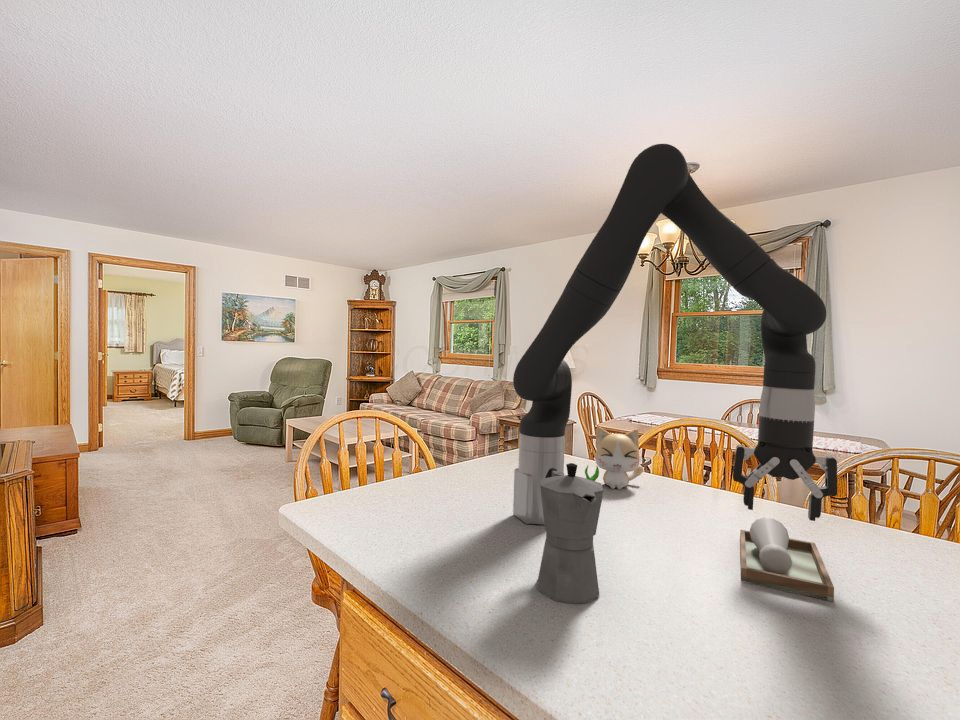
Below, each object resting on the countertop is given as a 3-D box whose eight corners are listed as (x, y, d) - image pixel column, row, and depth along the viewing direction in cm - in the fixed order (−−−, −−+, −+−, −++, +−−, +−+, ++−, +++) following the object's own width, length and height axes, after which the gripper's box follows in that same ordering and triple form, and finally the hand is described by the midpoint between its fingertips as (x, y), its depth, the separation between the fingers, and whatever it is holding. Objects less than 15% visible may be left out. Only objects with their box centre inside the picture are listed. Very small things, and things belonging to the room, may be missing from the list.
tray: (833, 601, 66) (834, 587, 66) (740, 580, 72) (741, 567, 72) (814, 554, 82) (814, 542, 82) (739, 540, 88) (740, 529, 88)
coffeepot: (621, 609, 63) (625, 474, 62) (554, 616, 60) (559, 476, 60) (572, 559, 78) (576, 450, 77) (517, 563, 76) (521, 451, 75)
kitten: (583, 488, 119) (585, 429, 118) (584, 478, 128) (586, 423, 128) (646, 494, 115) (648, 433, 115) (642, 483, 125) (644, 427, 125)
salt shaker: (777, 508, 83) (788, 540, 71) (793, 539, 82) (806, 576, 70) (742, 518, 85) (747, 550, 74) (757, 548, 85) (765, 585, 73)
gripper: (736, 413, 77) (731, 511, 77) (845, 423, 70) (838, 531, 71) (736, 408, 84) (731, 499, 84) (835, 417, 77) (829, 516, 77)
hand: (780, 513), depth 77 cm, fingers open, 8 cm apart
